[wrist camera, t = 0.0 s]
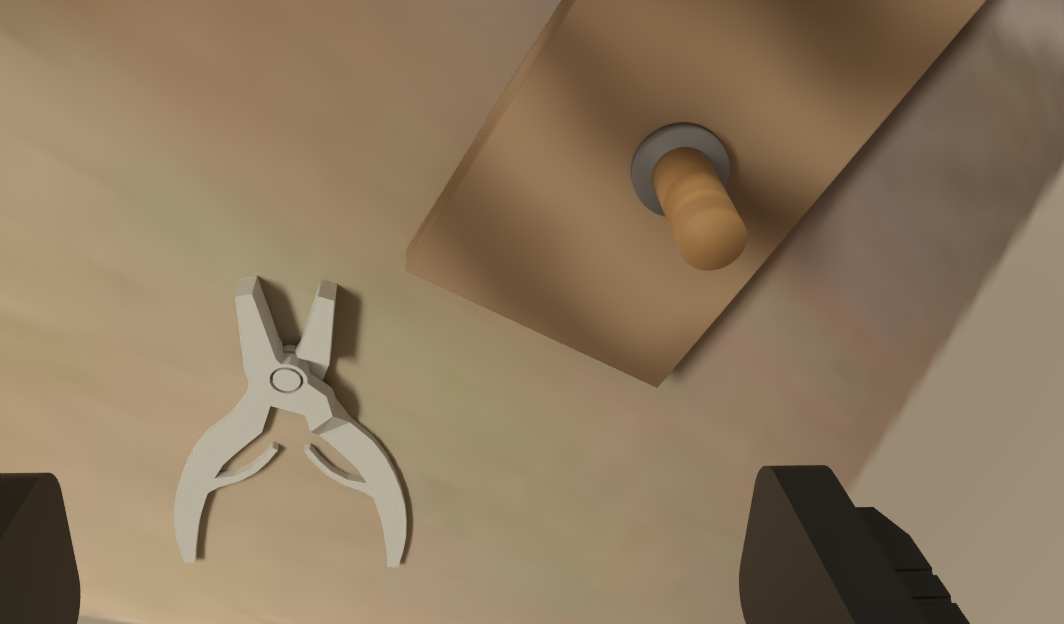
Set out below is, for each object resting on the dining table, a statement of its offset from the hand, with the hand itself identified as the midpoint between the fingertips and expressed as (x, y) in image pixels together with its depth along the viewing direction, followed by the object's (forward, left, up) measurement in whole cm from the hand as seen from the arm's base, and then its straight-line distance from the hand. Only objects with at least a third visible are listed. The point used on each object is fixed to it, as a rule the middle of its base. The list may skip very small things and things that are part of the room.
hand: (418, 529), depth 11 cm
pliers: (+18, +4, -23) cm, 30 cm away
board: (0, +9, -22) cm, 24 cm away
